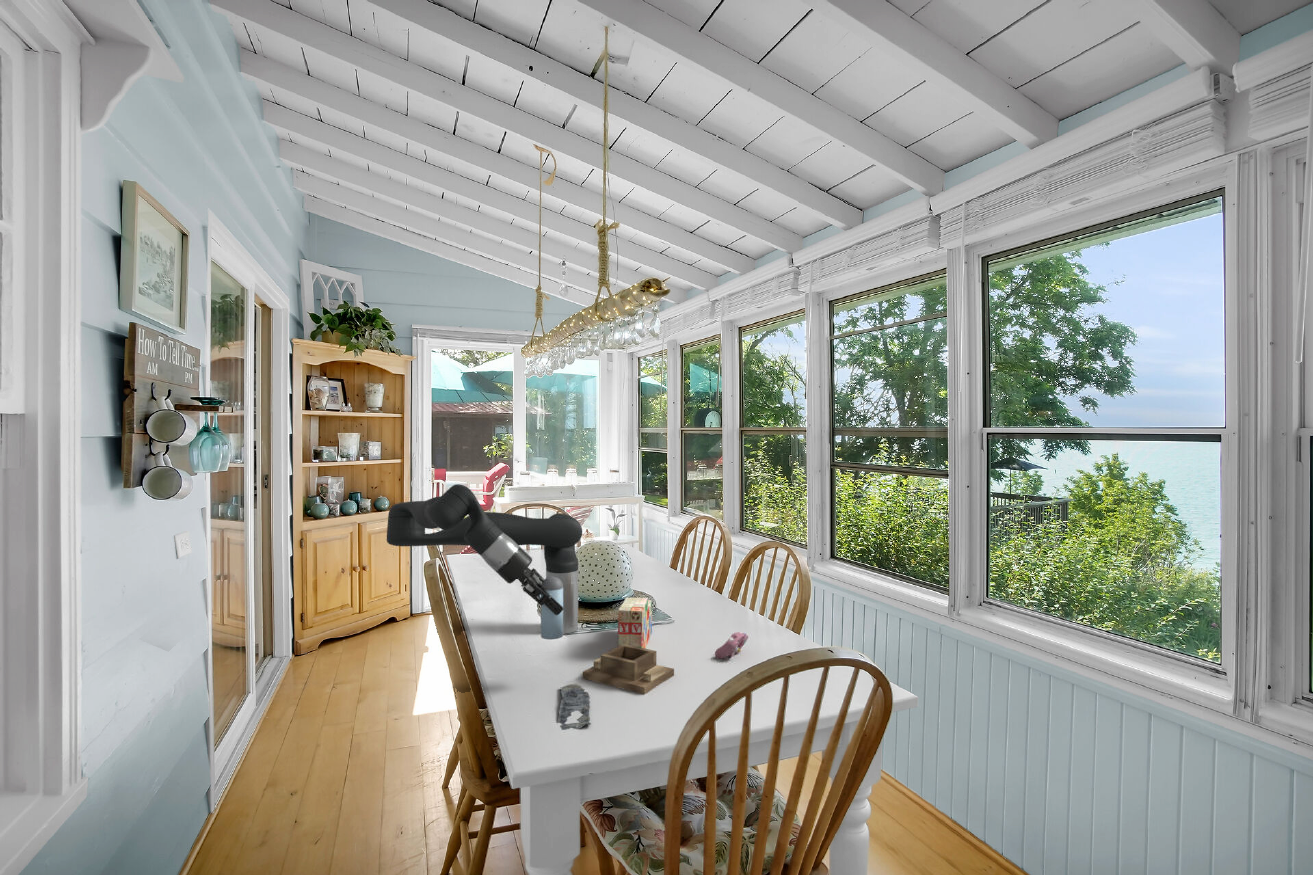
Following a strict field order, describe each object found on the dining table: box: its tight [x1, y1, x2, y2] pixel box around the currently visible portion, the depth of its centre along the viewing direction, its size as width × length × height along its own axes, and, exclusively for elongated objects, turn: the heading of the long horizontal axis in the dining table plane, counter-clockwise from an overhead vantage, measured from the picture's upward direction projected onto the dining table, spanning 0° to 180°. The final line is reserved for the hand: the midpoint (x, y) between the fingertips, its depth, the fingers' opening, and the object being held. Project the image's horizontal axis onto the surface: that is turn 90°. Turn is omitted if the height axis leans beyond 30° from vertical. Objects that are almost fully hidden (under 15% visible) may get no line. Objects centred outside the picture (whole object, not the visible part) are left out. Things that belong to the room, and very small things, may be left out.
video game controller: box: [714, 630, 749, 659], centre depth 164 cm, size 10×5×7 cm, turn 149°
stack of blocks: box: [617, 597, 653, 649], centre depth 172 cm, size 21×6×12 cm, turn 174°
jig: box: [582, 644, 675, 695], centre depth 149 cm, size 17×13×6 cm
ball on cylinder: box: [540, 576, 564, 640], centre depth 145 cm, size 5×5×14 cm
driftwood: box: [556, 683, 592, 730], centre depth 133 cm, size 21×7×2 cm, turn 6°
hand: (560, 608), depth 146 cm, fingers closed on ball on cylinder, 5 cm apart
